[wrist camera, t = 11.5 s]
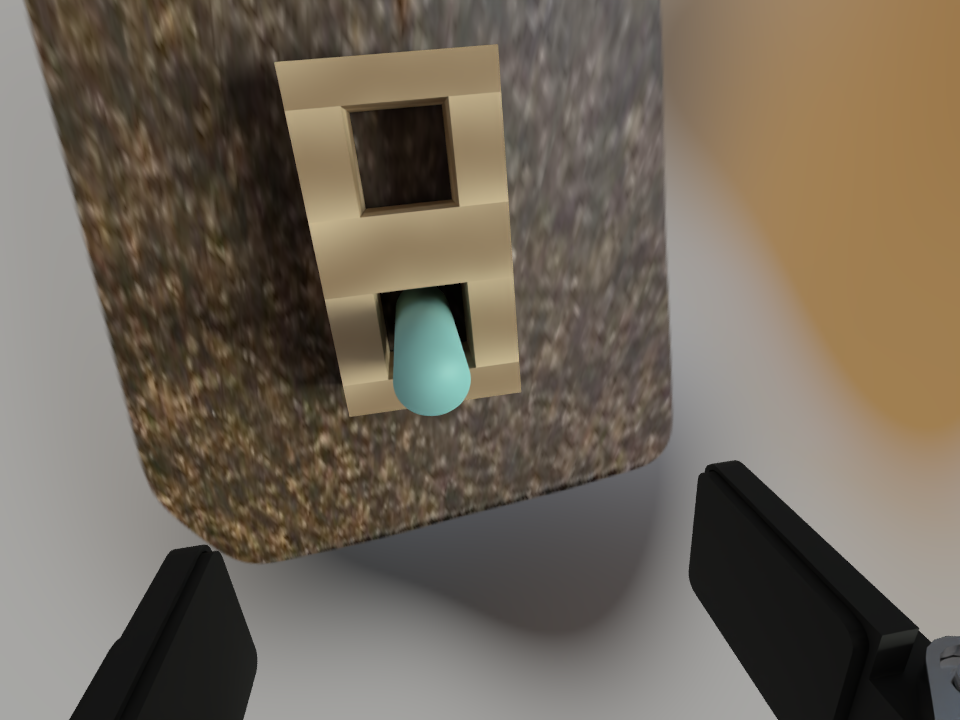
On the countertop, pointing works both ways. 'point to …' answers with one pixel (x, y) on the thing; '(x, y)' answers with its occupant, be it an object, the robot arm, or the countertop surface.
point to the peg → (428, 354)
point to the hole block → (407, 211)
